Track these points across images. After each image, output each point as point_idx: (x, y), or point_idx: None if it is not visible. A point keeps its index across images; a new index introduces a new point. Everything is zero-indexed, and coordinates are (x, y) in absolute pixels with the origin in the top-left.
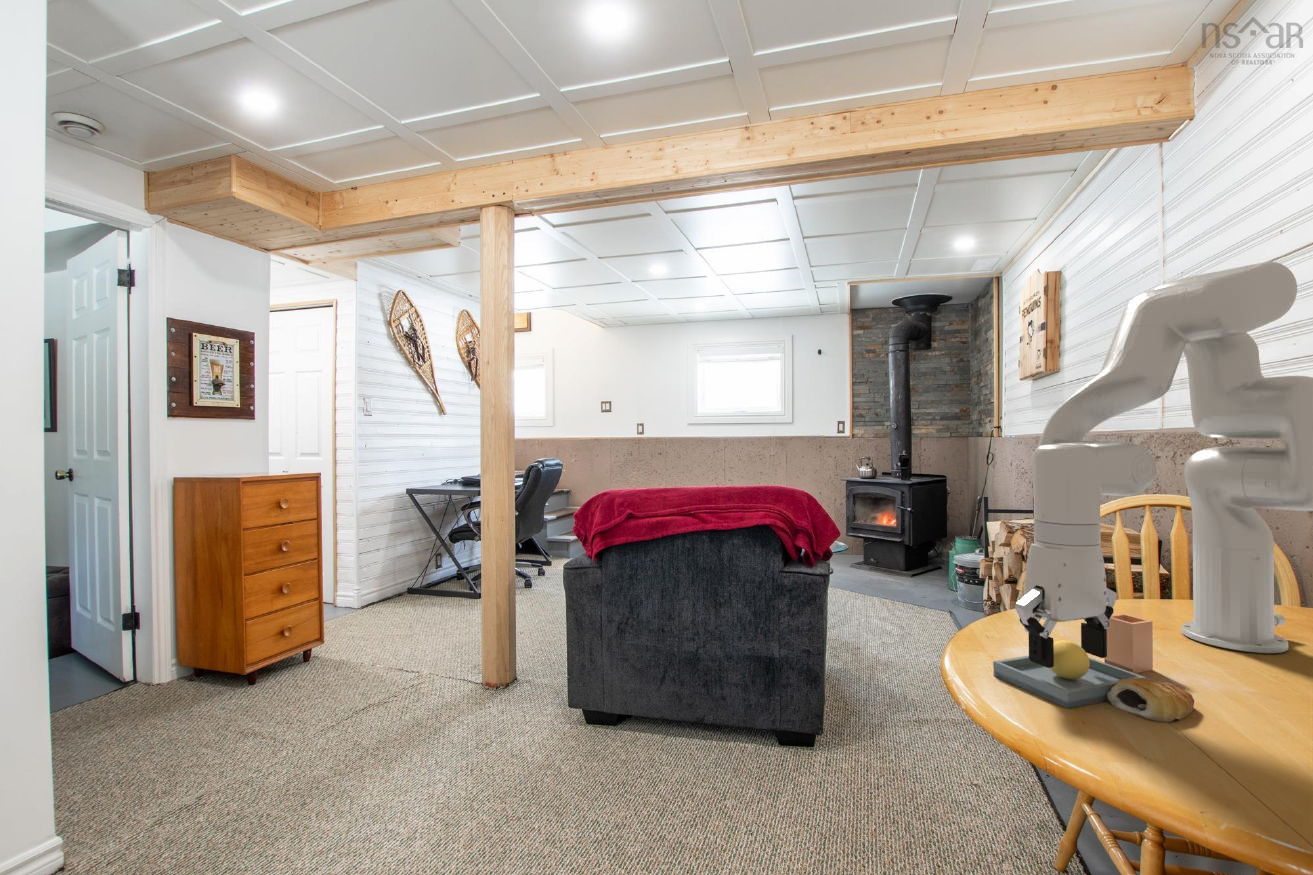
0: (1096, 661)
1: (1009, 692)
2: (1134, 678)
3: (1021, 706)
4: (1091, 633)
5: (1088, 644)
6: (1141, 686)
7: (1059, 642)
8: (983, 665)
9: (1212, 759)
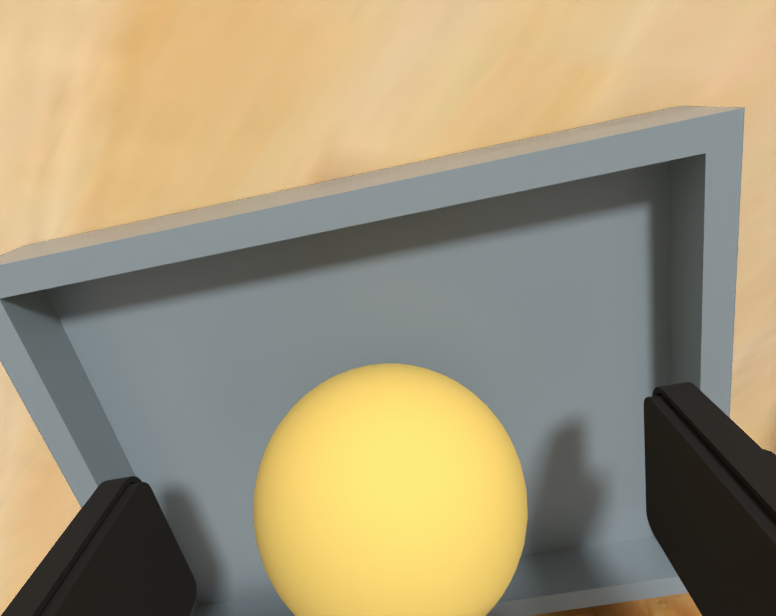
0: (703, 369)
1: (19, 447)
2: None
3: (10, 561)
4: (751, 607)
5: (680, 489)
6: None
7: (329, 596)
8: (28, 59)
9: None
